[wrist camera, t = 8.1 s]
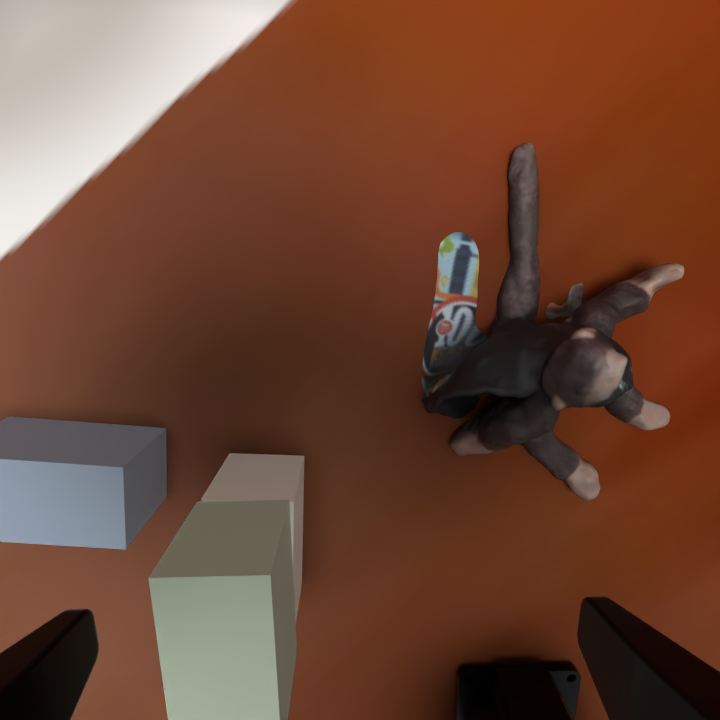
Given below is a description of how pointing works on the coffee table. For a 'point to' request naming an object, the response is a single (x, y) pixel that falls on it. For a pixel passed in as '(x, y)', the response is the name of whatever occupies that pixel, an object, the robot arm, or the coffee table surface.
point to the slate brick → (79, 481)
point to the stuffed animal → (532, 346)
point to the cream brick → (266, 493)
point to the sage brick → (227, 613)
